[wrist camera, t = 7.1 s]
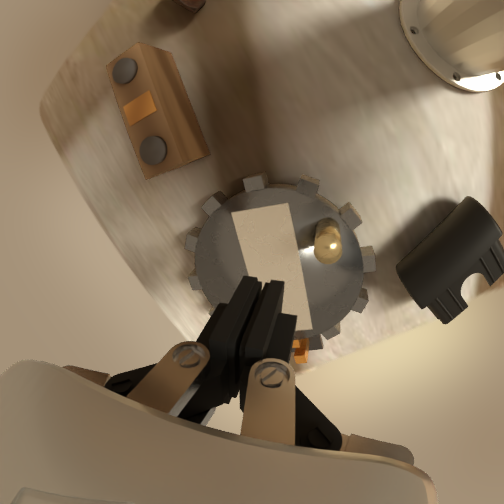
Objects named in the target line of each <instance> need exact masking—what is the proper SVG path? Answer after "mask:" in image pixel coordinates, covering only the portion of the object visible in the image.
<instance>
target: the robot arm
mask: <svg viewBox="0 0 504 504" xmlns="http://www.w3.org/2000/svg"><path fill="white" fill-rule="evenodd" d="M399 16H400V21H401V26H402V28H403V31H404V33H405V36H406V38H407V40H408V41H409V43H410V45H411V47H412V48H413V50H414V51H415V52H416V54H417V55H418V57H419V58H420V59H421V60H422V61H423V62H424V63H425V65H426V66H427V67H428V68H429V69H430V70H432V71H433V72H434V73H435V74H436V75H437V76H439V77H440V78H442V79H443V80H445V81H446V82H447V83H449V84H451V85H453V86H455V87H457V88H459V89H463V90H466V91H469V92H487V91H490V90H493V89H496V88H497V87H499V86H500V85H501V84H502V83H503V82H504V0H401V2H400V5H399ZM411 31H412V32H414V34H413V33H411ZM453 76H454V77H455V80H454V78H453ZM284 284H285V282H284V281H278V280H272V279H271V281H270V283H268V282H265V284H264V287H263V289H262V282H261V281H258V278H257V277H252V276H245V275H244V276H243V278H242V280H241V281H240V283H239V285H238V287H237V289H236V290H235V292H234V294H233V296H232V298H231V300H230V301H229V303H228V304H226V303H219V304H218V305H217V307H216V309H215V310H214V312H213V314H212V315H211V317H210V319H209V320H208V322H207V324H206V326H205V327H204V329H203V331H202V332H201V334H200V336H199V337H198V339H197V341H196V342H194V341H186V342H181V343H179V344H177V345H175V346H174V347H172V348H171V349H170V350H169V351H168V353H167V354H166V355H165V356H164V357H163V358H162V359H161V360H160V361H159V362H158V363H156V364H153V365H149V366H146V367H143V368H139V369H135V370H132V371H128V372H124V373H120V374H117V375H115V376H113V377H111V376H110V374H108V373H102V372H98V371H93V370H89V369H84V368H80V367H76V366H70V365H68V366H64V367H60V366H57V365H54V364H51V363H47V362H44V361H37V360H22V361H19V362H17V363H15V364H13V365H12V366H10V367H9V368H8V369H7V370H6V371H4V372H3V373H2V374H1V375H0V504H439V501H438V496H437V490H436V488H435V484H434V482H433V481H432V479H431V477H430V476H429V475H428V474H427V473H425V472H424V471H422V470H421V469H419V468H417V467H415V466H413V464H414V457H413V455H412V453H411V451H409V449H408V448H406V447H404V446H401V445H396V444H391V443H387V442H382V441H378V440H374V439H370V438H365V437H362V436H358V435H355V434H351V435H350V436H348V435H345V434H341V433H340V431H339V430H338V429H337V428H336V427H335V426H334V425H333V424H332V423H331V422H330V421H329V420H328V419H327V418H326V417H325V416H324V414H323V413H322V412H320V410H319V409H318V408H317V407H316V406H315V405H314V404H313V403H312V402H311V401H310V400H309V399H308V398H307V397H306V396H305V395H304V394H303V393H302V392H301V391H300V390H299V389H298V388H297V387H296V385H295V373H294V370H293V368H292V367H291V365H289V361H290V356H291V351H292V346H293V341H294V336H295V330H296V323H297V315H292V314H285V313H282V304H283V295H284ZM239 390H240V409H241V410H242V412H243V420H242V426H241V434H240V435H237V434H233V433H229V432H225V431H221V430H218V429H214V428H210V427H206V425H207V423H208V421H209V420H210V418H211V417H212V415H213V414H214V412H215V409H216V407H217V406H219V405H222V404H223V403H226V404H229V402H230V400H231V398H232V397H234V398H236V397H237V395H238V392H239Z"/></svg>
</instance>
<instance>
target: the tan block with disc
mask: <svg viewBox="0 0 504 504" xmlns="http://www.w3.org/2000/svg"><path fill="white" fill-rule="evenodd" d="M106 69H107V72H108V75H109V78H110V82H111V85H112V88H113V91H114V94H115V97H116V100H117V103H118V106H119V109H120V112H121V115H122V118H123V120H124V123H125V126H126V129H127V132H128V134H129V137H130V140H131V143H132V145H133V148H134V150H135V153H136V156H137V158H138V161H139V164H140V166H141V169H142V171H143V174H144V176H145V179H146V180H147V179H150V178H152V177H155V176H158V175H160V174H163V173H166V172H169V171H171V170H174V169H177V168H179V167H181V166H184V165H186V164H188V163H191V162H193V161H195V160H198V159H200V158H202V157H205V156H207V155H210V152H209V149H208V147H207V144H206V142H205V139H204V137H203V134H202V131H201V129H200V126H199V124H198V121H197V119H196V116H195V113H194V111H193V108H192V106H191V103H190V100H189V98H188V95H187V93H186V90H185V87H184V85H183V82H182V80H181V77H180V74H179V72H178V69H177V67H176V64H175V61H174V59H173V56H172V54H171V53H170V52H167V51H164V50H162V49H159V48H156V47H153V46H149V45H146V44H143V43H140V42H138V43H136V44H135V45H133V46H132V47H131V48H129V49H128V50H126V51H125V52H124V53H122V54H121V55H120V56H118V57H117V58H116V59H114V60H113V61H112V62H110V63H109V64H108V65H106Z"/></svg>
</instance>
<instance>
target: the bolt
mask: <svg viewBox="0 0 504 504" xmlns="http://www.w3.org/2000/svg"><path fill="white" fill-rule="evenodd" d="M173 1H174V2H176V3H178V4H179V5H181V6H183V7H185V8H186V9H188V10H190V11H192V12H194V13H196V12H197V11H198V10H199V9H200V8H201V7H202V6H203V5H204V4H205V1H206V0H173Z"/></svg>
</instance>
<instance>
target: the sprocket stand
mask: <svg viewBox="0 0 504 504" xmlns="http://www.w3.org/2000/svg"><path fill="white" fill-rule="evenodd" d="M317 349H323V343H322V338H321V334H318V335H316V336H313V337H310V338H305V339H301V344H300V348H292V351H291V352H295V354H294V358H295V361H296V364H298V363H307V358H308V351H309V350H317Z"/></svg>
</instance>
